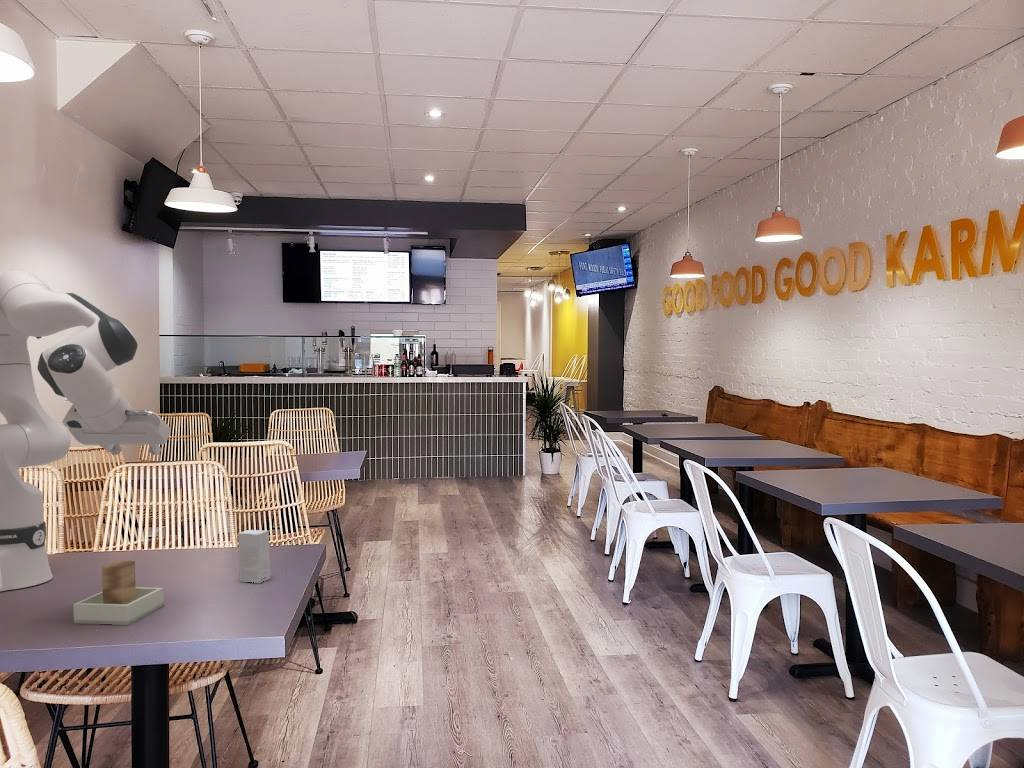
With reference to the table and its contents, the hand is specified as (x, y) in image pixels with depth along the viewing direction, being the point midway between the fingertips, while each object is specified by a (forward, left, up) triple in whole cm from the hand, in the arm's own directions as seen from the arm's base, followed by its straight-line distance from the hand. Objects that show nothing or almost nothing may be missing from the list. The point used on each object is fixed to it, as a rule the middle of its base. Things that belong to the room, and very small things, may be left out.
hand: (137, 452), depth 164 cm
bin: (+1, -9, -33) cm, 34 cm away
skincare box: (+18, +17, -34) cm, 42 cm away
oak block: (+1, -9, -32) cm, 34 cm away
